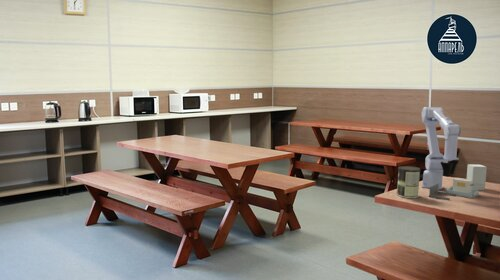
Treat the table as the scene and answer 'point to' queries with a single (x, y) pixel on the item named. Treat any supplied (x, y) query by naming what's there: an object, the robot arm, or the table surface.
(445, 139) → the robot arm
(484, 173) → the supplement box
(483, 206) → the table surface
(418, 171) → the coffee can
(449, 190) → the tray
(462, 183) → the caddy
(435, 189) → the dock
